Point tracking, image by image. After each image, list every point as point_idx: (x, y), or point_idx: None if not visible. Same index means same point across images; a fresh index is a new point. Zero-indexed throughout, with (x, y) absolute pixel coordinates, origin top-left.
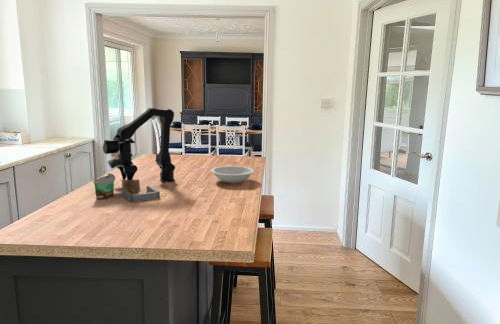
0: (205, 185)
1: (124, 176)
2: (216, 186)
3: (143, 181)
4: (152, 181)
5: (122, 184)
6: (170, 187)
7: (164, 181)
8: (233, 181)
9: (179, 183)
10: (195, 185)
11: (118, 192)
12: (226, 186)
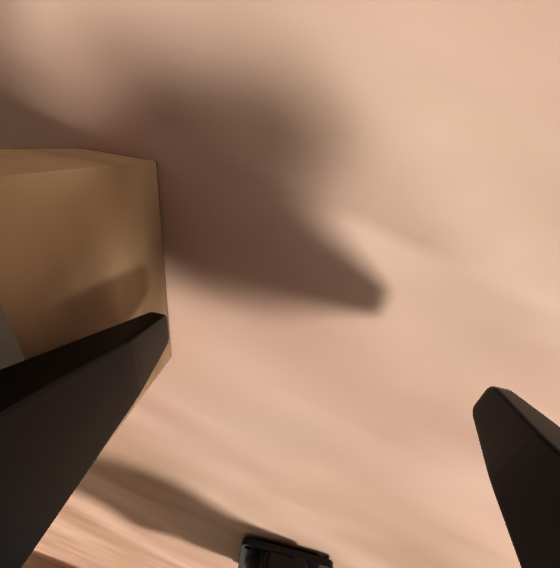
0: (76, 551)
1: (526, 483)
2: (45, 553)
3: (395, 500)
4: (331, 522)
5: (29, 163)
6: (91, 481)
7: (244, 541)
8: None
9: (166, 541)
10: (90, 541)
11: (36, 29)
12: (36, 561)
